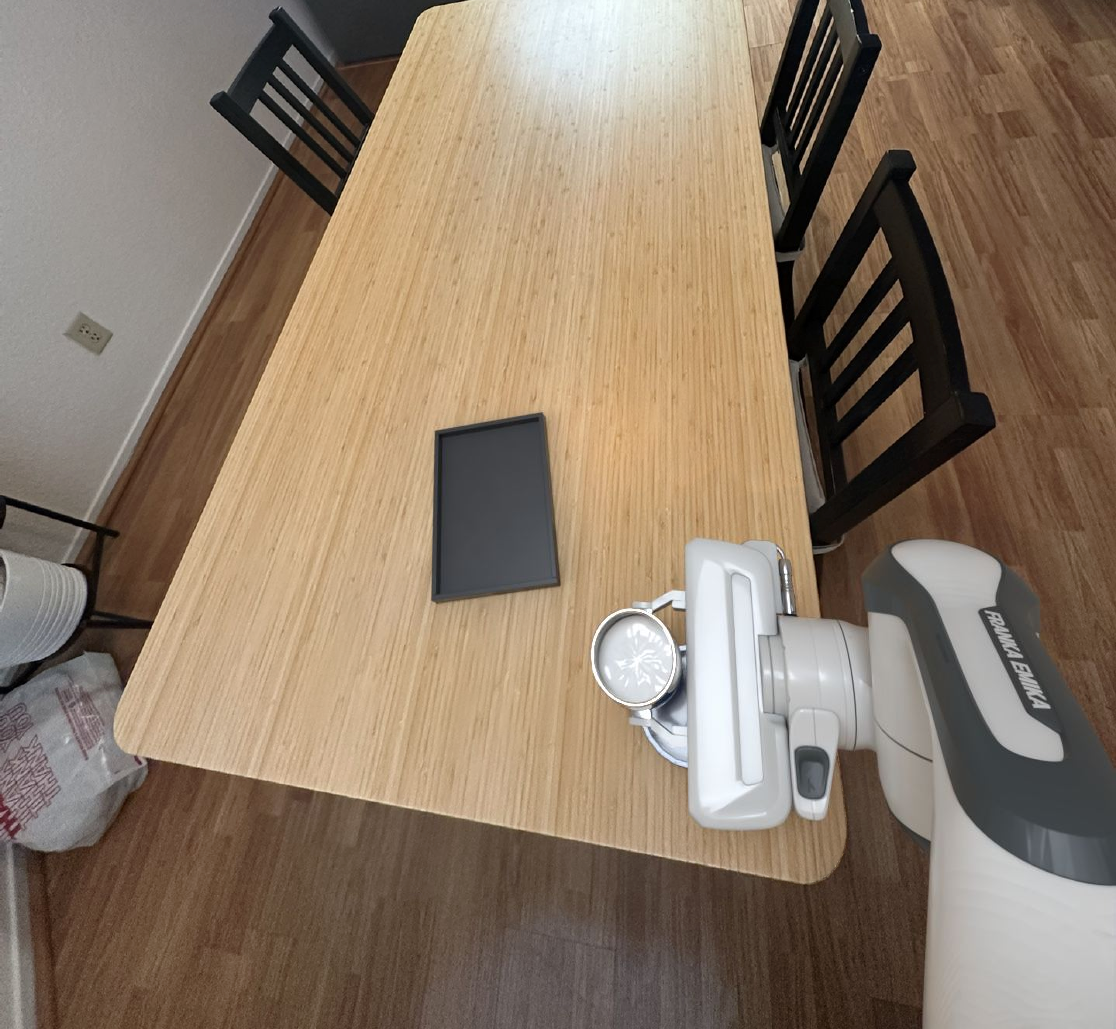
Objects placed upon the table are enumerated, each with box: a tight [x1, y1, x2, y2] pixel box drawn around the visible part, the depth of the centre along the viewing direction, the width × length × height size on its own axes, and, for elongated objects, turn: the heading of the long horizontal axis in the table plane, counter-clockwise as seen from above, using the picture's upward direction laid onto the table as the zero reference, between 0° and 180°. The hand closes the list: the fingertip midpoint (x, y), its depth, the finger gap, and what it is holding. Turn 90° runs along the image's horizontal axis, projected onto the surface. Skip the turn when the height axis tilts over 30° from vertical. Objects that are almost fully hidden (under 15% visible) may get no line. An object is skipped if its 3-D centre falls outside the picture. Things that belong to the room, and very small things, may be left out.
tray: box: [430, 411, 561, 604], centre depth 80 cm, size 21×15×2 cm
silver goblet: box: [589, 607, 682, 712], centre depth 53 cm, size 7×7×15 cm
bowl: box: [641, 644, 688, 769], centre depth 63 cm, size 10×10×4 cm
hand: (630, 661), depth 53 cm, fingers closed on silver goblet, 6 cm apart
